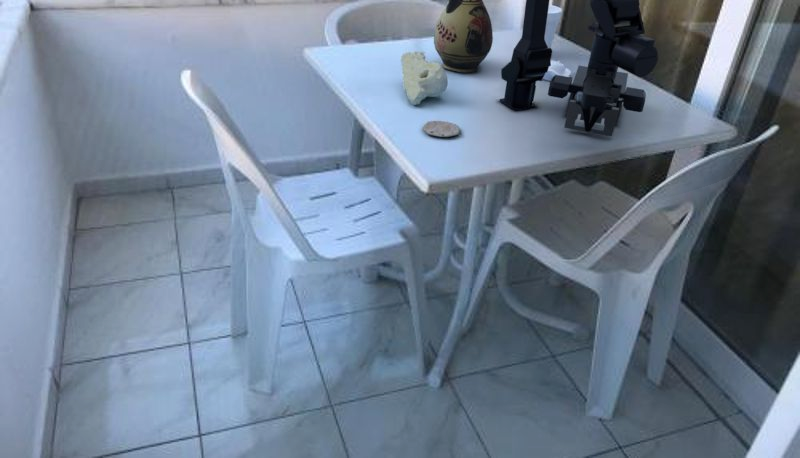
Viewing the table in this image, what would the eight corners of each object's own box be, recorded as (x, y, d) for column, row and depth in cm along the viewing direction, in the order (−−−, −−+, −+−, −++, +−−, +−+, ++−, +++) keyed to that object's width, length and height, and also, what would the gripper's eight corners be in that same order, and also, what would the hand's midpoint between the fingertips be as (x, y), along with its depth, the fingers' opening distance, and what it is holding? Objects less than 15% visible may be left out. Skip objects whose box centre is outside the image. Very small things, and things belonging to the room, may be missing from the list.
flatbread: (418, 134, 137) (418, 130, 137) (429, 120, 143) (429, 116, 143) (454, 141, 135) (455, 137, 135) (464, 128, 141) (464, 123, 141)
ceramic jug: (473, 55, 182) (486, -59, 165) (498, 74, 170) (515, -46, 154) (417, 59, 177) (425, -58, 160) (439, 79, 165) (450, -45, 148)
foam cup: (555, 60, 182) (564, 14, 175) (523, 58, 182) (531, 12, 175) (549, 49, 190) (558, 4, 183) (518, 47, 190) (525, 2, 182)
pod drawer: (610, 146, 136) (617, 118, 132) (561, 136, 138) (566, 109, 135) (615, 115, 149) (622, 89, 146) (570, 107, 152) (576, 82, 148)
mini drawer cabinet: (616, 126, 146) (625, 93, 142) (565, 117, 149) (572, 84, 145) (619, 105, 157) (628, 73, 153) (572, 96, 160) (578, 65, 155)
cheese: (444, 118, 150) (466, 64, 154) (427, 100, 145) (450, 45, 149) (396, 117, 160) (418, 67, 164) (379, 101, 155) (401, 49, 159)
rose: (546, 68, 163) (528, 55, 171) (543, 84, 166) (525, 71, 173) (580, 65, 166) (560, 53, 174) (576, 82, 169) (557, 69, 176)
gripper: (551, 64, 122) (536, 138, 131) (653, 81, 117) (631, 156, 126) (559, 46, 131) (545, 117, 139) (654, 62, 126) (633, 134, 135)
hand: (587, 131), depth 135 cm, fingers closed
